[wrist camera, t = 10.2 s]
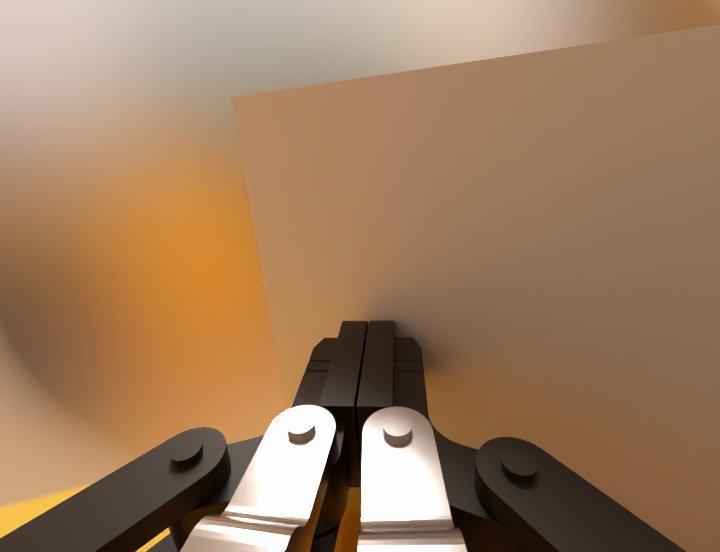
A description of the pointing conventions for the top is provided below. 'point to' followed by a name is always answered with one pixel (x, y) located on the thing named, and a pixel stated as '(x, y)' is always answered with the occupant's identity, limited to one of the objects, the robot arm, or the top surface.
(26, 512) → the top surface
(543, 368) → the side door
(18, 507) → the top surface
